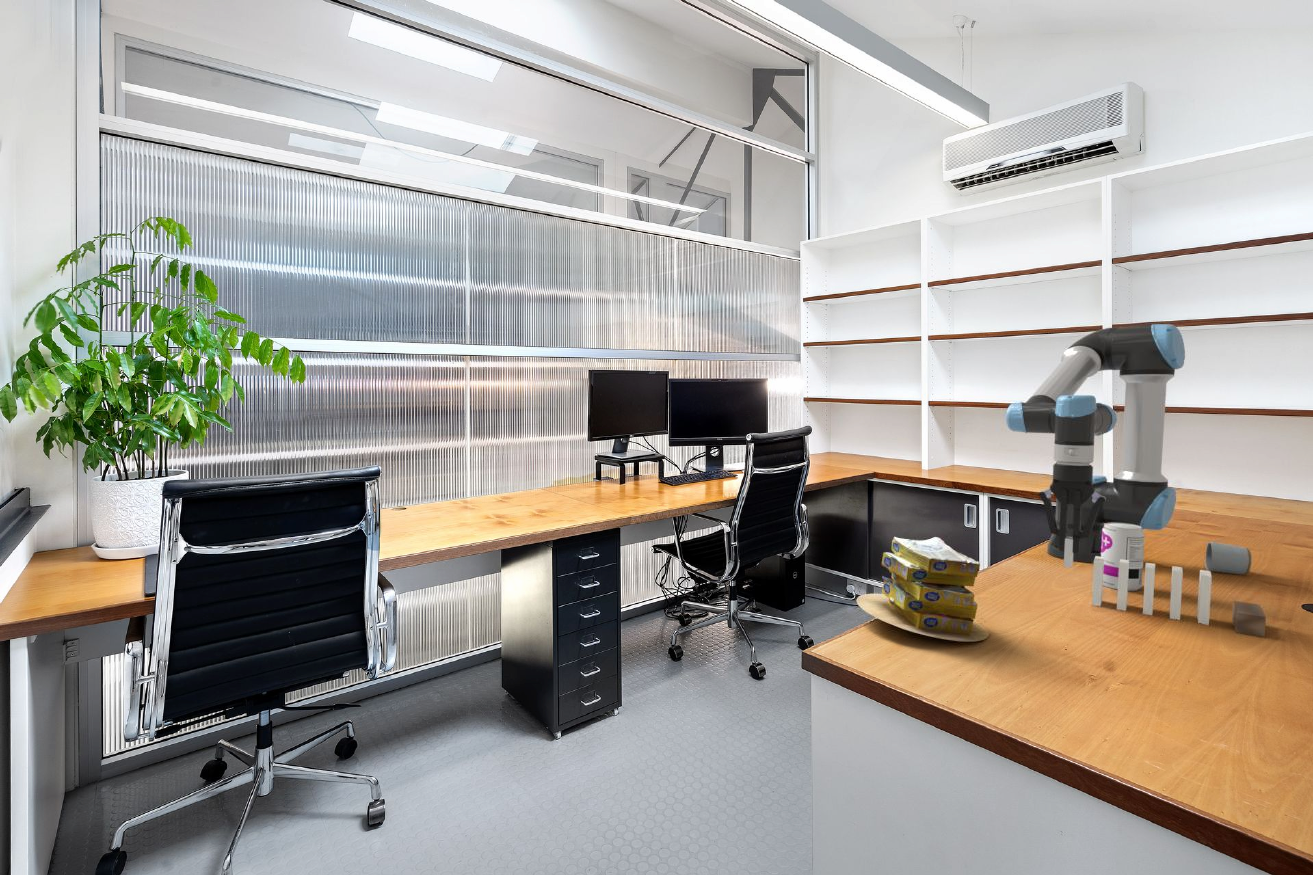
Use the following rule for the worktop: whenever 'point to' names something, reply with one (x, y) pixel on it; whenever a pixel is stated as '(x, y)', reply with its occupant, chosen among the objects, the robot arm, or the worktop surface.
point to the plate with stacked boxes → (927, 591)
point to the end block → (1249, 619)
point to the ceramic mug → (1227, 558)
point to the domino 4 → (1176, 592)
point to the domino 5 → (1204, 597)
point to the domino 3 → (1149, 588)
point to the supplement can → (1122, 553)
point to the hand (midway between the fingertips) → (1068, 565)
